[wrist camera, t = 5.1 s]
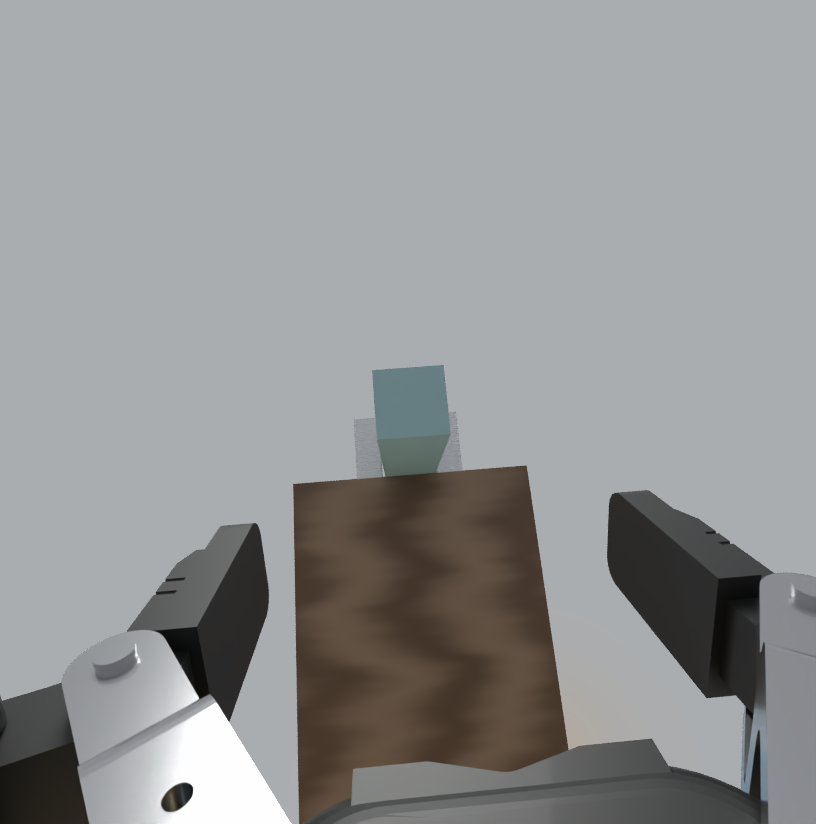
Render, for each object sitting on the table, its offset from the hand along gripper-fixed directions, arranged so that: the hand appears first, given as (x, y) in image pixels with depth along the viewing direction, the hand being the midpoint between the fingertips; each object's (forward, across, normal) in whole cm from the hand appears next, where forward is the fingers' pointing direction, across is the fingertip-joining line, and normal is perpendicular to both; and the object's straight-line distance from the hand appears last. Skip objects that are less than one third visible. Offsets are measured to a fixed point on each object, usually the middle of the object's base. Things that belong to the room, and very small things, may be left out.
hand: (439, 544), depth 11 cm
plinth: (+7, 0, -36) cm, 37 cm away
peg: (+19, 0, -6) cm, 20 cm away
